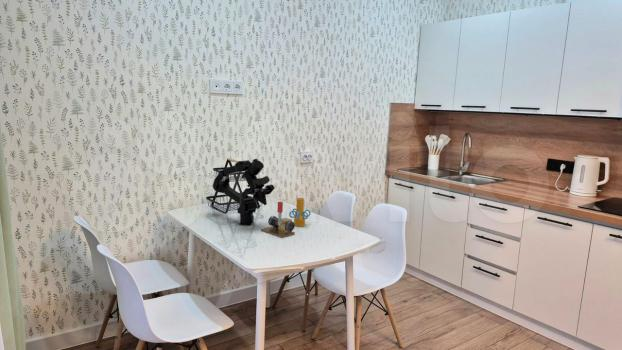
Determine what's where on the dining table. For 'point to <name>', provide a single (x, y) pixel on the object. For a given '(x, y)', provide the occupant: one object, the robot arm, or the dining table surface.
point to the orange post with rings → (299, 213)
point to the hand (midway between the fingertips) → (265, 204)
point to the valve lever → (280, 212)
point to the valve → (280, 227)
